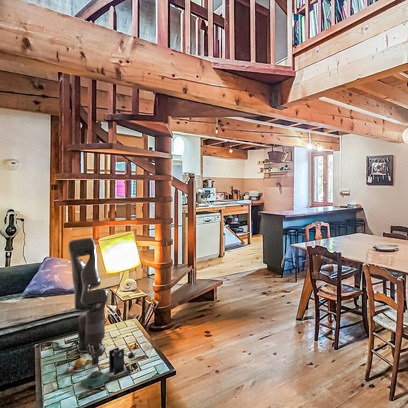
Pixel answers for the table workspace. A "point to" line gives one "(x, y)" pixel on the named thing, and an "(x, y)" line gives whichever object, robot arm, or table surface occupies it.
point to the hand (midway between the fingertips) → (95, 364)
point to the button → (95, 374)
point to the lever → (130, 355)
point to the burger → (79, 365)
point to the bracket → (116, 361)
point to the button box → (95, 380)
